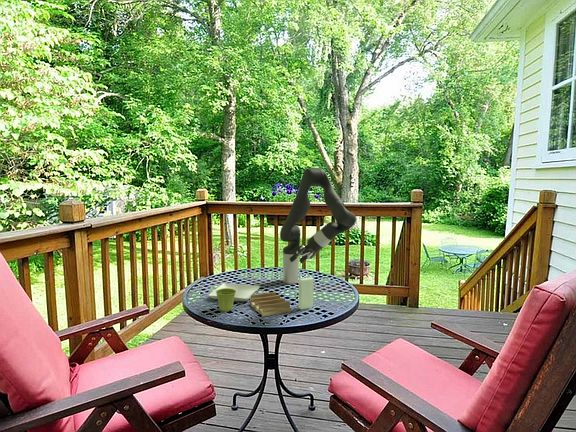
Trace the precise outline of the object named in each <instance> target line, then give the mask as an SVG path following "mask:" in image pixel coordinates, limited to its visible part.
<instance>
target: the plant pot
mask: <svg viewBox="0 0 576 432" xmlns="http://www.w3.org/2000/svg"><path fill="white" fill-rule="evenodd" d="M235 293H236V290H234V289H230V288H224V289H219V290H217V291H216V294H217V296H218V299H217V302H218V303H217V304H218V308H219V309H218V310H219V311H220V312H229V311H232V310H233V307H234V302H235V301H234V296H235Z"/></svg>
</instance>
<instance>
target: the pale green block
mask: <svg viewBox="0 0 576 432" xmlns="http://www.w3.org/2000/svg"><path fill="white" fill-rule="evenodd" d="M314 281H315V279H314V278H313V277H312V276H311V277H305V278H298V306H297V307H298V309H300V310H307V309H312V307H313V308H314V298H315V297H314V293H315V292H314V289H315V288H314V287H315V285H314V284H315V282H314Z"/></svg>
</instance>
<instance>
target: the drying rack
mask: <svg viewBox="0 0 576 432" xmlns="http://www.w3.org/2000/svg"><path fill="white" fill-rule="evenodd" d="M281 296H282V295H280V294H277V292H276V291H272V292H264V293H257V294H253V295H251V297H250V301H249V305H250V306H251V307H252V308H253V309H254V310H256V312H258V313H259V314H260V315H261V316H262V317H267V316H273V315H279V314H284V313H290V312H292V308H291V301H286V298H285V297H282V298H281Z"/></svg>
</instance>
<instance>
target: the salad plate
mask: <svg viewBox="0 0 576 432" xmlns="http://www.w3.org/2000/svg"><path fill="white" fill-rule="evenodd" d="M224 288H230V289H234V290H236V293H235V296H234V302H247V301H249V300H250V299H251V295H255V293H256V292H257V291H258V290H259V288H260V285H254V284H245V283H243V284H241V283H227V282H223V283H222V284H220V285H219V286H217V288H216V289H214V290H213V291H212V292H210V293H209V294H208V297H209V298H211V299H213V300H218V296H217V294H216V291H217V290H219V289H224Z"/></svg>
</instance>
